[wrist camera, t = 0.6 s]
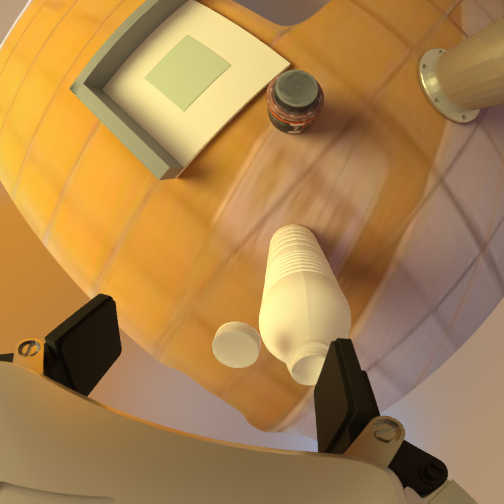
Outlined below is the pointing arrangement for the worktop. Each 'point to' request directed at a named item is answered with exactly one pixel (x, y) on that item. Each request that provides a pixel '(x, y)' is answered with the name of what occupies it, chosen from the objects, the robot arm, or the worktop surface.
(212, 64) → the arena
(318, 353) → the water bottle
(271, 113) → the supplement bottle
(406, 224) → the worktop surface
